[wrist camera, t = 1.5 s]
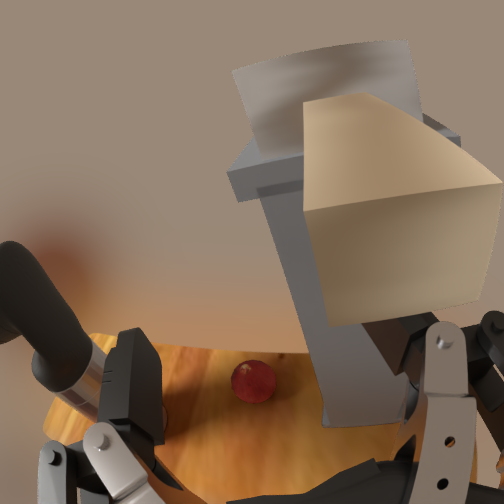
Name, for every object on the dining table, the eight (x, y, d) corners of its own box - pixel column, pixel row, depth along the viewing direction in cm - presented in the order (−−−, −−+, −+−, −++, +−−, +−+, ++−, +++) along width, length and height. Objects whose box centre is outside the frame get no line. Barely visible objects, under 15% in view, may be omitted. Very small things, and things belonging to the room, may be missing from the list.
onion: (236, 406, 35) (212, 381, 31) (249, 373, 39) (230, 343, 35) (275, 414, 33) (257, 390, 28) (286, 378, 37) (272, 348, 32)
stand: (322, 427, 29) (226, 172, 12) (326, 387, 34) (254, 135, 16) (402, 421, 26) (460, 136, 8) (400, 380, 30) (415, 109, 13)
